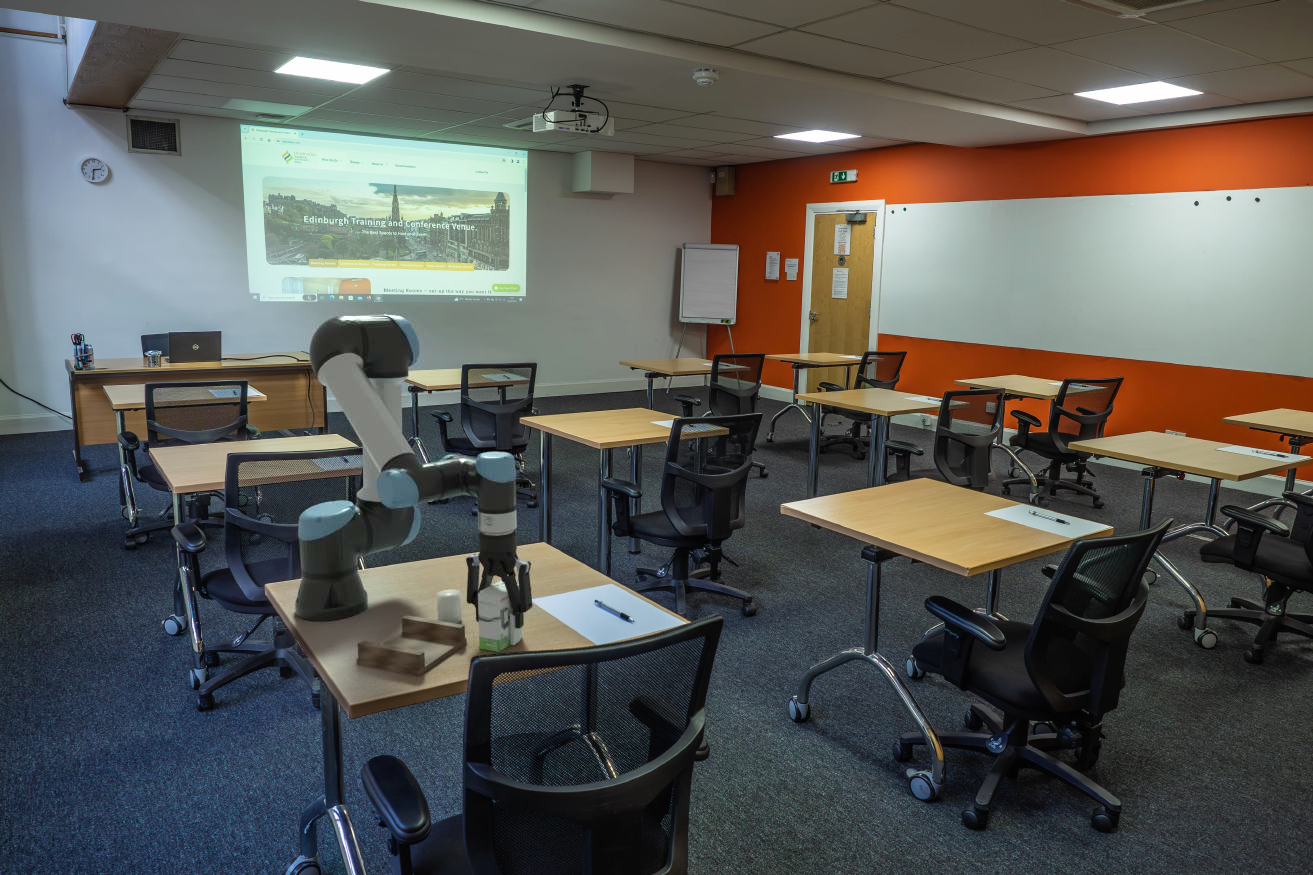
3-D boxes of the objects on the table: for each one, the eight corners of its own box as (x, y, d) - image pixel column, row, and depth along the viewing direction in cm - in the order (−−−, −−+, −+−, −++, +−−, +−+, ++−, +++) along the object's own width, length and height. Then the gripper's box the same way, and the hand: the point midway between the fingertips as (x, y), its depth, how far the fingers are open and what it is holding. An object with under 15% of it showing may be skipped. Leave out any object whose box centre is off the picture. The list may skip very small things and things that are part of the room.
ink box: (498, 653, 166) (497, 596, 163) (478, 648, 168) (476, 592, 165) (523, 637, 173) (522, 582, 171) (502, 632, 175) (501, 579, 173)
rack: (356, 664, 160) (355, 644, 159) (408, 632, 175) (407, 614, 174) (418, 676, 155) (417, 656, 155) (466, 642, 170) (466, 624, 169)
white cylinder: (433, 622, 180) (432, 595, 179) (446, 614, 185) (445, 588, 184) (453, 625, 179) (452, 599, 178) (466, 617, 183) (465, 591, 182)
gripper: (444, 530, 167) (448, 639, 171) (531, 540, 160) (533, 654, 164) (465, 520, 173) (469, 625, 178) (550, 530, 167) (551, 639, 171)
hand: (500, 639), depth 171 cm, fingers open, 6 cm apart
